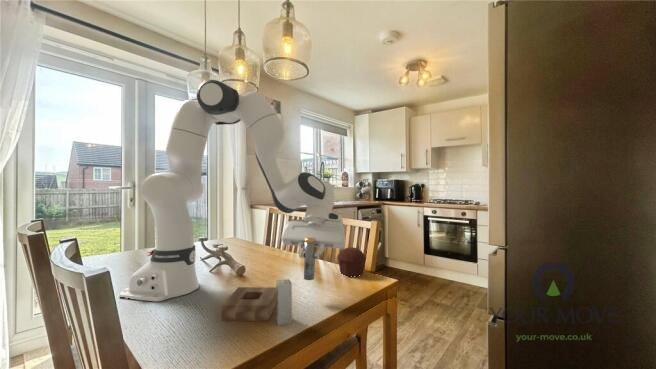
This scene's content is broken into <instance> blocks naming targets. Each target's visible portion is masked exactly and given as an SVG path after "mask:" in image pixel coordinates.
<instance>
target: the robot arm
mask: <svg viewBox="0 0 656 369" xmlns="http://www.w3.org/2000/svg"><path fill="white" fill-rule="evenodd" d="M240 122H242V123H243V124H244V126H245V127H246V129H247V131H248V133H249V134H250V136H251V138H252V141H253V144H254V148H255V153H254V154H255V158H256V161H257V163H258V166H259V168H260V170H261V172H262V174H263V176H264V179H265V181H266V183H267V186H268V188H269V190H270V193H271V197H272V201H273V203H274V205H275V207H276V208H277V209H278V210H279V211H280V212H282V213H284V214H292V213H294V212H295V211H297V210H298V209H299V208H300V207H303V206H306V211H305V215H304V218H303V219H295V218H294V219H293V218H292V219H291V220H288V221H287V222H286V224H285V226H284V229H283V230H282V234H281V236H280V238H281V241H282V242H283V244H284V245H285V246H295V247H296V246H298V250H299V254H298V256H299V258H301V259H304V247H305V238H308V237H312V238H315V248H319V249H318V250H315V254H314V259H315V260H320V258H321V255H322V254H323V253H324V251H325V250H326V248H327V249H328V248H329V249H342V250H343V249H344V247H345V246H346V234H345V232H346V231H345V227H344V221H343V216H342V214H341V215H340V214H339V213H334V212H332V210H333V208H334V205H335V204H334V203H335V189H334V186H333V184H332V183H330V182H329V181H327V180H325V179H319V177H317V176H316V175H314V174H313V173H310V172H306V171H305V172H304V171H303V172H300V173H299V174H297V175H296V176H295V177H293V178H292V179H290V180H289V181H288V182H285V180H284V177H283V176H282V173H281V171H280V169H279V167H278V165H277V164H278V163H277V155H278V152H279V150H280V147H281V145H282V143H283V141H284V138H285V128H284V124H283V122H282V121H281V119H280V117H279V116H278V114H277V113H276V111H275V109H274V108H273V107H272V105H270V103H269V102H268V100H266V98H265V97H264V96H263V95H262V94H261V93H259V92H257V91H250V92H246V93H244V94H243V95H242V94H239V92H238V90H237V89H235V88H233V87H231V86H230V85H228V84H226V83H224V82H222V81H220V80H217V79H208V80H205V81H203V82H202V83H200V84H199V86H198V88H197V90H196V100H195V99H187V100H184V101H182V102H181V103H180V106H179V107H178V109H177V112H176V114H175V116H174V119H173V120H172V125H171V128H170V132H169V136H168V140H167V144H166V147H165V154H166V156H167V158H168V166H169V167H168V168H169V169H168V171H162V172H158V173H157V172H156V173H154V174H150V175H148V176H147V177H145V178H144V179H143V181H142V182H141V185H140V188H139V189H140V190H139V191H140V195H141V198H142V200H143V201H144V202H146V204H147V205H148V206H149V208H150V211H151V213H152V216H153V219H154V220H153V222H154V224H155V248H154V249H152V250H151V251H149V252H147V256H146V257H151V258H150V259H149V261H148V262H147V263H145V264H144V265H142V266H141V267H140V268H139V269H137V270H136V271H135V272H134V273H132V275H131V276H130V278H129V282H128V283H129V284H128V287H126V288H125V289H123V290H122V291H121V292H119V296H120V297H125V298H124V299H128V298H130V300H138V301H148V302H162V301H165V300H168V299H172V298H176V297H180V296H184V295H187V294H189V293H193V292H194V291H195V290H197V289H198V288H199V287H200V284H199V280H198V275H197V272H196V270H197V269H196V264H195V262H196V255H197V254H196V245H195V223H194V220H193V219H192V218H191V215H190V213H189V209H188V205H190V204H192V203H194V202H196V201H198V200H199V199H200V198H201V197H202V195H203V193H204V184H203V182H202V171H203V170H202V169H203V166H202V164H203V158H204V153H205V149H206V144H207V141H208V138H209V132H210V129H211V127H212V125H213V124H215V125H219V126H220V125H234V124H238V123H240ZM120 297H119V298H120Z"/></svg>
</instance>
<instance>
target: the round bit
mask: <svg viewBox="0 0 656 369" xmlns="http://www.w3.org/2000/svg"><path fill="white" fill-rule="evenodd" d="M303 250H304V258H303V259H304V261H303V279H304V281H305V280H306V281H312V280H313V281H314V280H315V276H316V275H315V271H316V270H315V268H316V263H315V262H316V259H314V254H315V251H316V247H315V238H312V237H308V238H305V246H304V248H303Z"/></svg>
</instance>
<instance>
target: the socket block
mask: <svg viewBox="0 0 656 369" xmlns="http://www.w3.org/2000/svg"><path fill="white" fill-rule="evenodd" d="M275 309H276V286H275V287H263V286H261V287H258V286H257V287H255V286H254V287H253V286H252V287H248V286H247V287H246V286H245V287H244V286H243V287H241V286H240V287H237V288H236V289H235V290H234V291H233V292H232V293H231V295H229V297H228V298H227V299H226V300H225V301H224V302H223V303H222V304H221V322H222V321H223V322H229V321H230V322H233V321H234V322H269V320H270V319H271V316H272V314H273V312H274V310H275Z"/></svg>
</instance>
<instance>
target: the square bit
mask: <svg viewBox="0 0 656 369" xmlns="http://www.w3.org/2000/svg"><path fill="white" fill-rule="evenodd" d="M275 287H276V306H275V316H276V317H275V320H276V323H277V326H278V327H279V326H285V325H291V324H292V323H293V322H292V321H293V319H292V318H293V312H292V310H293V309H292V307H293V306H292V305H293V301H292V300H293V299H292V298H293V296H292V295H293V290H292V289H293V284H292V281H291V280H290V278H288V279H287V278H285V279H280V280H279V279H278V280H276V281H275Z"/></svg>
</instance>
